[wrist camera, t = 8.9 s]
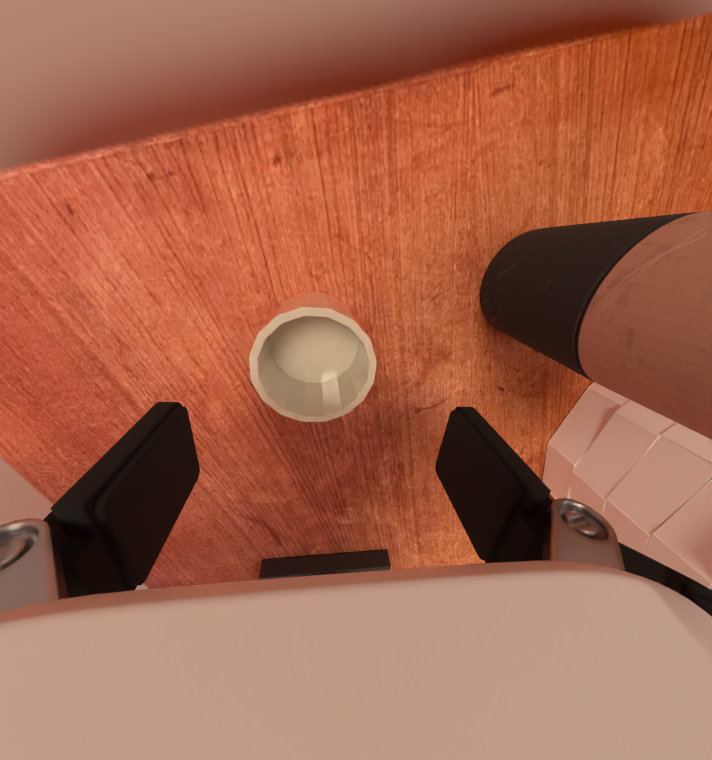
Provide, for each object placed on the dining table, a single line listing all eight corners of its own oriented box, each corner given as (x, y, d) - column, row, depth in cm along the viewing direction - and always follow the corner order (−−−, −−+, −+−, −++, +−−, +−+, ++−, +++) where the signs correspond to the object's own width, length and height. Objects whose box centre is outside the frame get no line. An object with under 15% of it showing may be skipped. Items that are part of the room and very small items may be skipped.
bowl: (267, 383, 21) (254, 422, 16) (261, 287, 17) (243, 303, 13) (357, 385, 22) (368, 422, 17) (367, 295, 19) (383, 312, 14)
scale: (269, 631, 37) (265, 667, 34) (262, 559, 30) (256, 595, 27) (371, 618, 39) (376, 651, 36) (387, 548, 32) (394, 581, 29)
